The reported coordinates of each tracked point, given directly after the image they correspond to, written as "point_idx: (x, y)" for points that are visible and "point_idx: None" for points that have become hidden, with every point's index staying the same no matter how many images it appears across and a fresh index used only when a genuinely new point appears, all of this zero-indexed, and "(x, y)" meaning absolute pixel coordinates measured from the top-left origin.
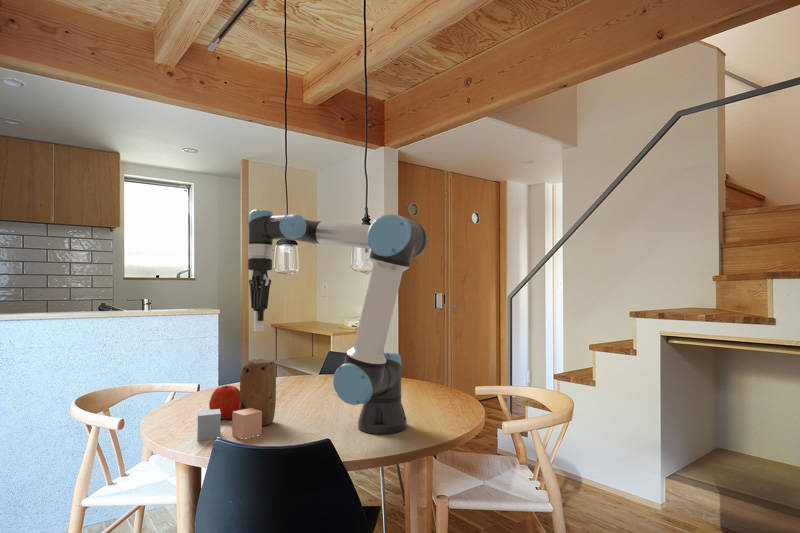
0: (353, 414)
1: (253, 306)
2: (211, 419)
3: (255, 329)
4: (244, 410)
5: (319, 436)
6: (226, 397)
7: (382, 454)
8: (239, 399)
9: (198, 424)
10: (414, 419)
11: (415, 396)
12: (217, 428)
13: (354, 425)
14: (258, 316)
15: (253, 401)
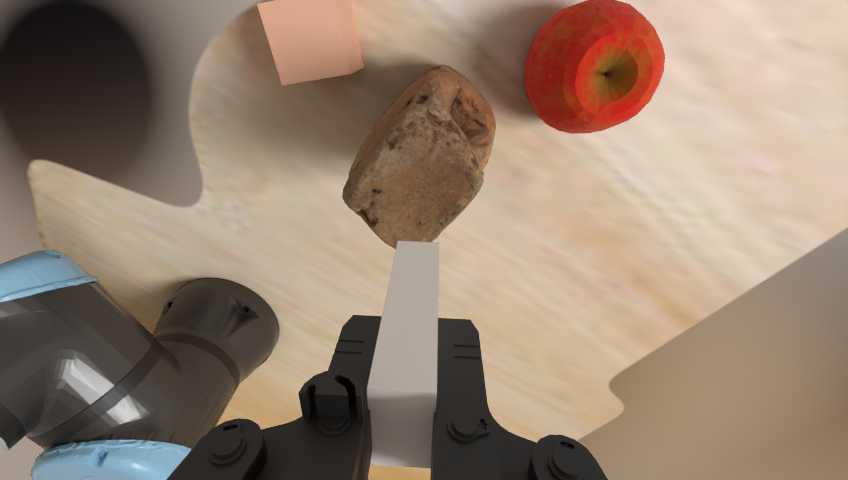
0: None
1: (495, 465)
2: None
3: (397, 250)
4: (325, 37)
5: (222, 191)
6: (550, 53)
7: (48, 226)
8: (544, 109)
9: None
10: (248, 387)
11: (406, 475)
12: None
13: (268, 290)
14: (360, 352)
15: (393, 104)
